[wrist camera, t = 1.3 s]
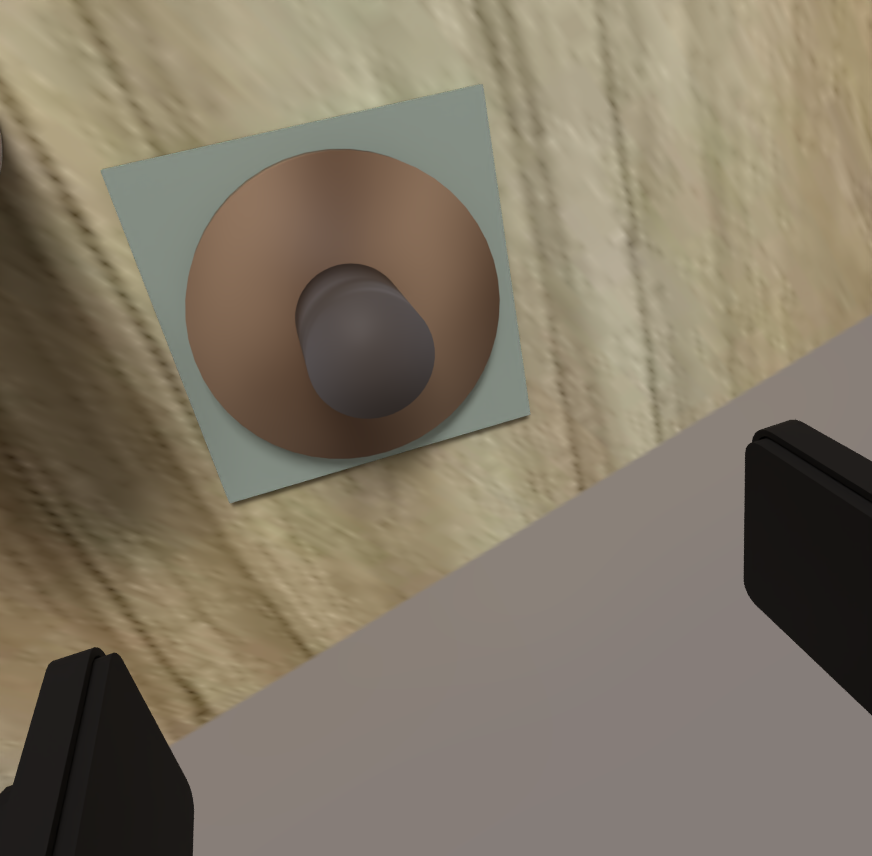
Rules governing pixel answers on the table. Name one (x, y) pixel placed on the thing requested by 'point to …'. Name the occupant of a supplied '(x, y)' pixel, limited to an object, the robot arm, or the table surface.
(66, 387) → the table surface
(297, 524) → the table surface
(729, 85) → the table surface
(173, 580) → the table surface
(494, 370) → the mat
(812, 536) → the robot arm
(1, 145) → the cup
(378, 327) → the lid
